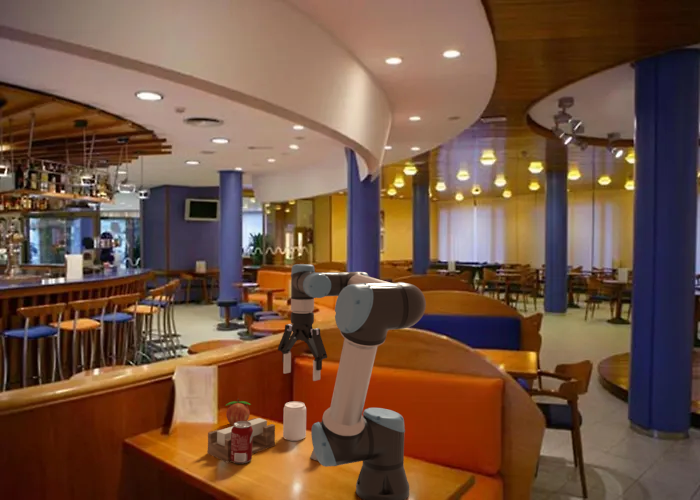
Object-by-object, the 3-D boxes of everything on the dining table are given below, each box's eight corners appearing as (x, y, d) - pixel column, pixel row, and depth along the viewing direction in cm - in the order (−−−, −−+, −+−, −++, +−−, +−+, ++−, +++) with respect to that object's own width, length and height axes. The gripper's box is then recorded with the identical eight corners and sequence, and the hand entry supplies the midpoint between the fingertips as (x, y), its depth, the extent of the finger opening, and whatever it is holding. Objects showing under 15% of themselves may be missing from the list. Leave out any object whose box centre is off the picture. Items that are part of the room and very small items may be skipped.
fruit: (248, 429, 207) (248, 402, 206) (222, 428, 207) (222, 402, 206) (251, 421, 215) (252, 395, 215) (227, 420, 215) (227, 395, 215)
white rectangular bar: (259, 429, 195) (259, 417, 195) (266, 431, 193) (266, 420, 193) (217, 443, 182) (217, 431, 182) (224, 446, 179) (224, 434, 179)
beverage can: (280, 435, 201) (280, 402, 200) (301, 432, 204) (301, 400, 204) (287, 443, 193) (287, 409, 193) (309, 439, 197) (309, 406, 197)
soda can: (247, 466, 174) (249, 429, 173) (226, 463, 175) (228, 426, 174) (254, 457, 180) (256, 421, 180) (234, 455, 181) (236, 419, 181)
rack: (254, 437, 198) (254, 418, 198) (275, 445, 191) (275, 425, 191) (207, 453, 183) (207, 432, 183) (228, 462, 176) (228, 441, 176)
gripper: (338, 314, 175) (337, 380, 176) (284, 307, 191) (283, 368, 192) (322, 316, 170) (321, 385, 170) (268, 308, 186) (267, 371, 186)
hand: (301, 376), depth 181 cm, fingers open, 13 cm apart
